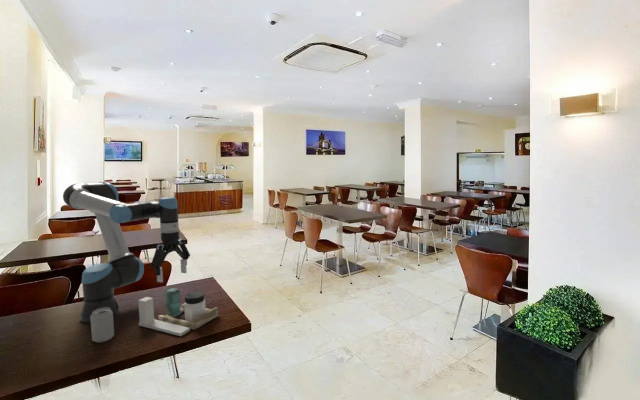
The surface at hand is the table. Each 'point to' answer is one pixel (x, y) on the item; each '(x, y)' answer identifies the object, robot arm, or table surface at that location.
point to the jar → (194, 305)
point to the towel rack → (175, 310)
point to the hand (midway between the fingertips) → (172, 277)
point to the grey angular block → (148, 320)
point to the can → (102, 324)
